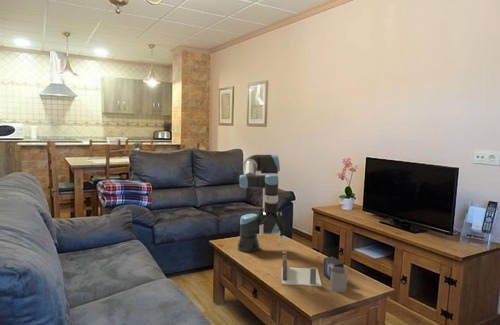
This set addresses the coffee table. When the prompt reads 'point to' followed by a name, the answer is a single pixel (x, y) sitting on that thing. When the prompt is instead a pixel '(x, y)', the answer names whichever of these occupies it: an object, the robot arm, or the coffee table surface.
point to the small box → (331, 265)
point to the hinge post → (284, 271)
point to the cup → (338, 279)
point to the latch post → (312, 275)
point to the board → (300, 277)
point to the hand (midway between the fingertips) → (270, 238)
